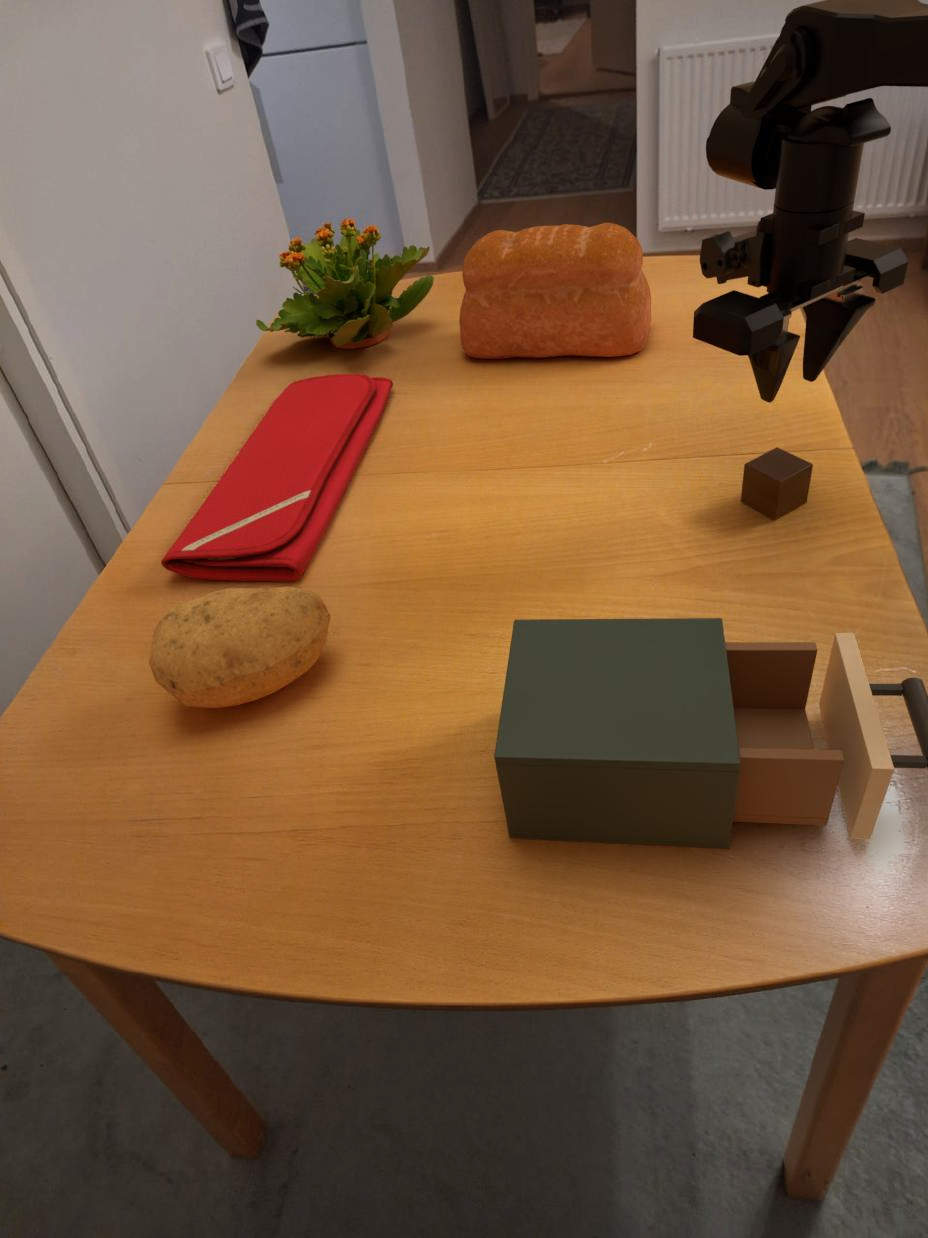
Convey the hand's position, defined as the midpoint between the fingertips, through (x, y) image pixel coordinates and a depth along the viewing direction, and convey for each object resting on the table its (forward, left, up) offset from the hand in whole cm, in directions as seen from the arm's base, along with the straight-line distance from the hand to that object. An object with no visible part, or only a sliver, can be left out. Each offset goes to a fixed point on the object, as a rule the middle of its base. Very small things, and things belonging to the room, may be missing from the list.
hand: (788, 390), depth 72 cm
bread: (+24, -41, -12) cm, 49 cm away
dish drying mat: (+53, -9, -12) cm, 55 cm away
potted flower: (+54, -49, -12) cm, 74 cm away
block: (0, 0, -12) cm, 12 cm away
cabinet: (+15, +33, -12) cm, 38 cm away
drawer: (+4, +33, -11) cm, 35 cm away
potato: (+46, +25, -12) cm, 54 cm away
